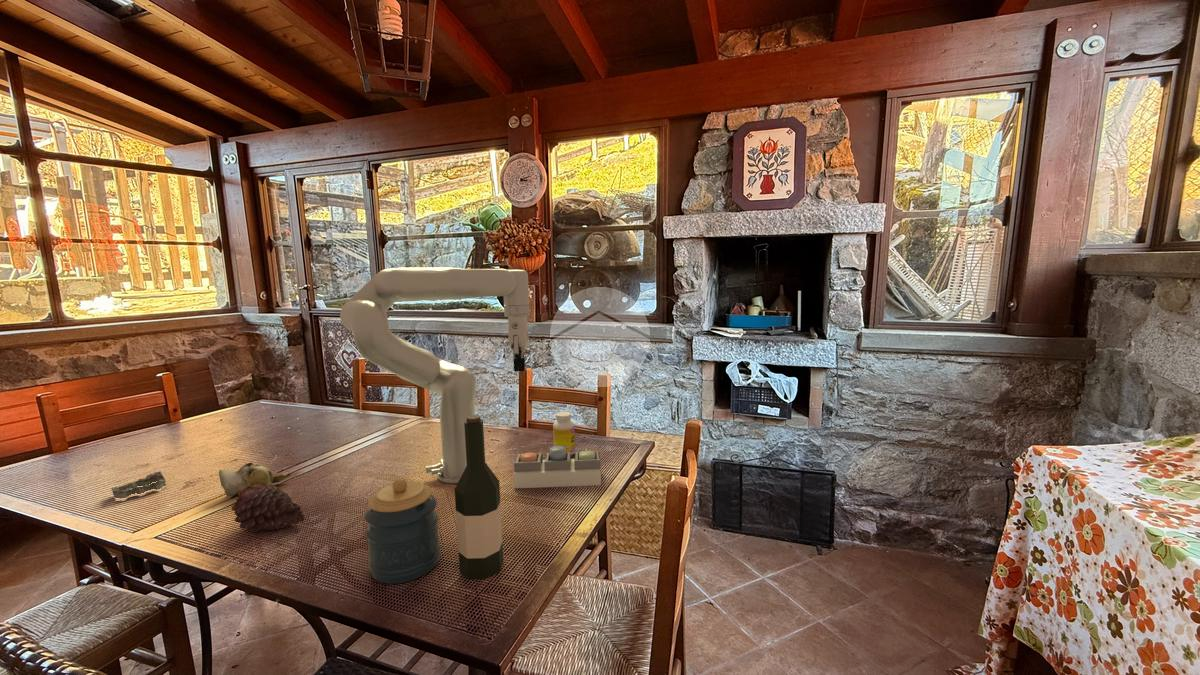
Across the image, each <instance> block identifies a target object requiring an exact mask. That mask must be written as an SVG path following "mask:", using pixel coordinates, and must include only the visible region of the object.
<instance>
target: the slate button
mask: <svg viewBox="0 0 1200 675" xmlns="http://www.w3.org/2000/svg"><path fill="white" fill-rule="evenodd" d="M549 453H550V461H563V460H566V448H565V447H563V446H554V445H553V446H552V447H550V448H549Z"/></svg>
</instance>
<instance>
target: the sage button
mask: <svg viewBox="0 0 1200 675" xmlns="http://www.w3.org/2000/svg"><path fill="white" fill-rule="evenodd" d="M579 452H580V453H579V460H592V459H595V452H593V451H592V450H584V451H583V450H582V451H579Z"/></svg>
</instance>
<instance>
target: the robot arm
mask: <svg viewBox="0 0 1200 675" xmlns="http://www.w3.org/2000/svg"><path fill="white" fill-rule="evenodd" d="M529 290H530V289H529V274H528V272H527V271H526V270H524V269H505V268H458V267H394V268H385V269H382V270H380V271H378V273H376V274H375V275H374V276H373V277H371V279H370V280H369V281H368V282H367V283H365V284H364V285H363V286H362V287H360V289H359V290H358V291H357V292H356V293H355V294H354V295H353V296H351V298H350V299H348V300H347V301H346V302H345V304H343V306H342V307H341V310H340V315H339V318H340V319H339V320H340V321H341V324H342V325H343V327H344V328H345V329H346V330H348V331H350V332H352V336H353V340H354V344H355V346H356V348H357V350H358V352H359V353H360V354H361V355H362V357H363V358H364V359H365V360H367V361H369V362H370V363H371V364H374V365H375V366H377V367H380V368H383V369H384V370H387V371H389V372H391V373H393V374H395V375H396V376H397V377H399V378H400V379H402V380H404V381H407V382H408V383H409V382H410V383H411V384H414V385H415V386H419V387H421V388H424V389H425V390H428V391H430V392H433V393H435V394H437V395H440V397H441V399H440V406H439V425H440V438H441V440H440V441H441V453H442V455H441V456H442V459H440V461H439V462H437V463H436V464H433V465H432V464H431V465H426V466H425V469H424V470H425V474H429V473H430V474H431V475H432V476H433V475H437V478H438V480H439V481H440V482H442V483H446V484H458V482H459V480H460V478H461V476H462V474H463V472H464V470H465V468H466V466H467V460H466V443H465V427H464V422H465V421H466V420H467V417H468V416H471V415H476V395H477V379H476V377H475V375H474V374H473V372H472V371H471V370H470V369H469V368H467V367H465V366H462V365H459V364H456V363H451V362H450V361H448V360H447V361H446V360H445V359H442V358H440V357H438V356H436V355H435V354H434V353H433V352H431V351H430V350H427V349H425V348H422V347H419V346H416V345H415V344H412V343H410V342H407V341H406V340H404V339H403V338H401V337H398V336H397V335H395V334H394V333H393V332H392V330H391V329H390V325H389V318H388V314H387V311H388V310H389V309H390V308H391V307H392V306H393V305H394V303H395V302H417V301H419V302H421V301H434V300H435V301H438V300H439V301H441V300H444V301H445V300H459V299H460V300H461V299H467V298H468V299H469V298H485V297H487V298H488V297H503V311H504V312H503V313H504V314H503V315H504V317H505V318H507V320H508V321H507V325H508V326H507V327H508V344H509V349H510V350H512V354H513V372H524V371H525V370H526V362H525V360H526V358H525V350H526V349H527V348H528V347H529V345H530V339H529V324H528V317H529V316H530V315H531V314H530V293H529V292H530V291H529Z"/></svg>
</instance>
